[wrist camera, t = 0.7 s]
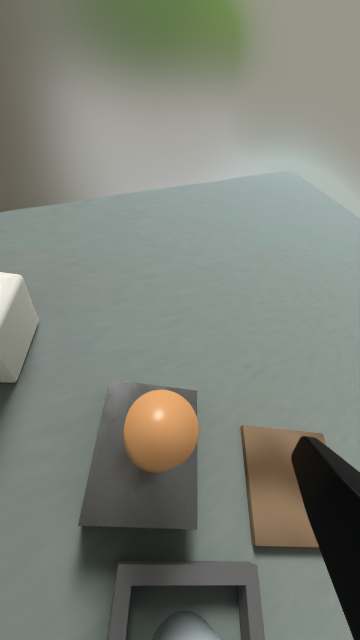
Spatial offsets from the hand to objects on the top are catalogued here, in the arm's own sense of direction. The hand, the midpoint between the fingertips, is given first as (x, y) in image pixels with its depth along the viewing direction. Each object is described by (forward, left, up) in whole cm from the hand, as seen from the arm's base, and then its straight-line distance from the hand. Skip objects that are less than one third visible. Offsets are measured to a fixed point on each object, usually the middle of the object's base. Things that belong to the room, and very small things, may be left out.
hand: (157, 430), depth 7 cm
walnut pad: (0, -15, -17) cm, 23 cm away
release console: (+2, -1, -17) cm, 17 cm away
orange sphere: (+2, -1, -12) cm, 12 cm away
